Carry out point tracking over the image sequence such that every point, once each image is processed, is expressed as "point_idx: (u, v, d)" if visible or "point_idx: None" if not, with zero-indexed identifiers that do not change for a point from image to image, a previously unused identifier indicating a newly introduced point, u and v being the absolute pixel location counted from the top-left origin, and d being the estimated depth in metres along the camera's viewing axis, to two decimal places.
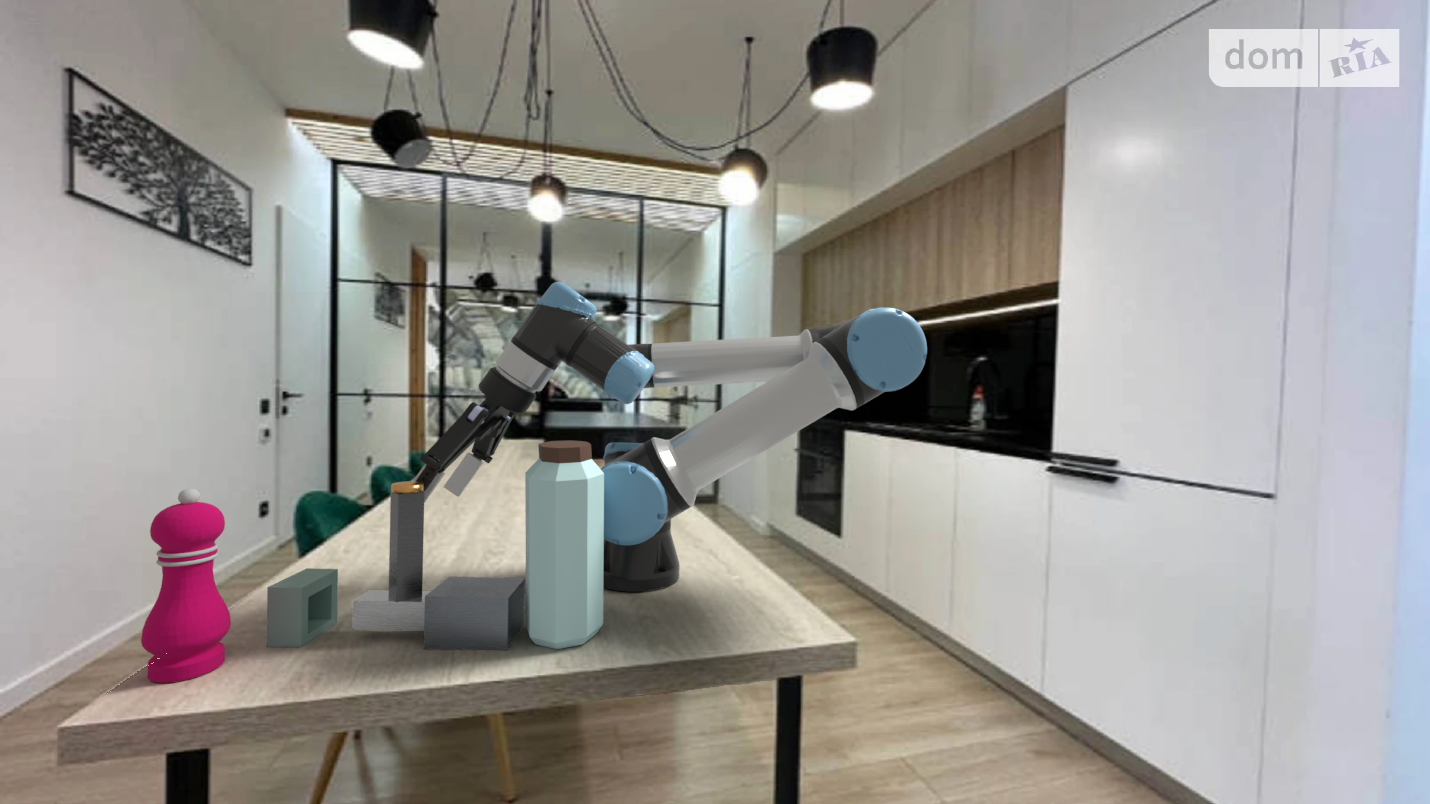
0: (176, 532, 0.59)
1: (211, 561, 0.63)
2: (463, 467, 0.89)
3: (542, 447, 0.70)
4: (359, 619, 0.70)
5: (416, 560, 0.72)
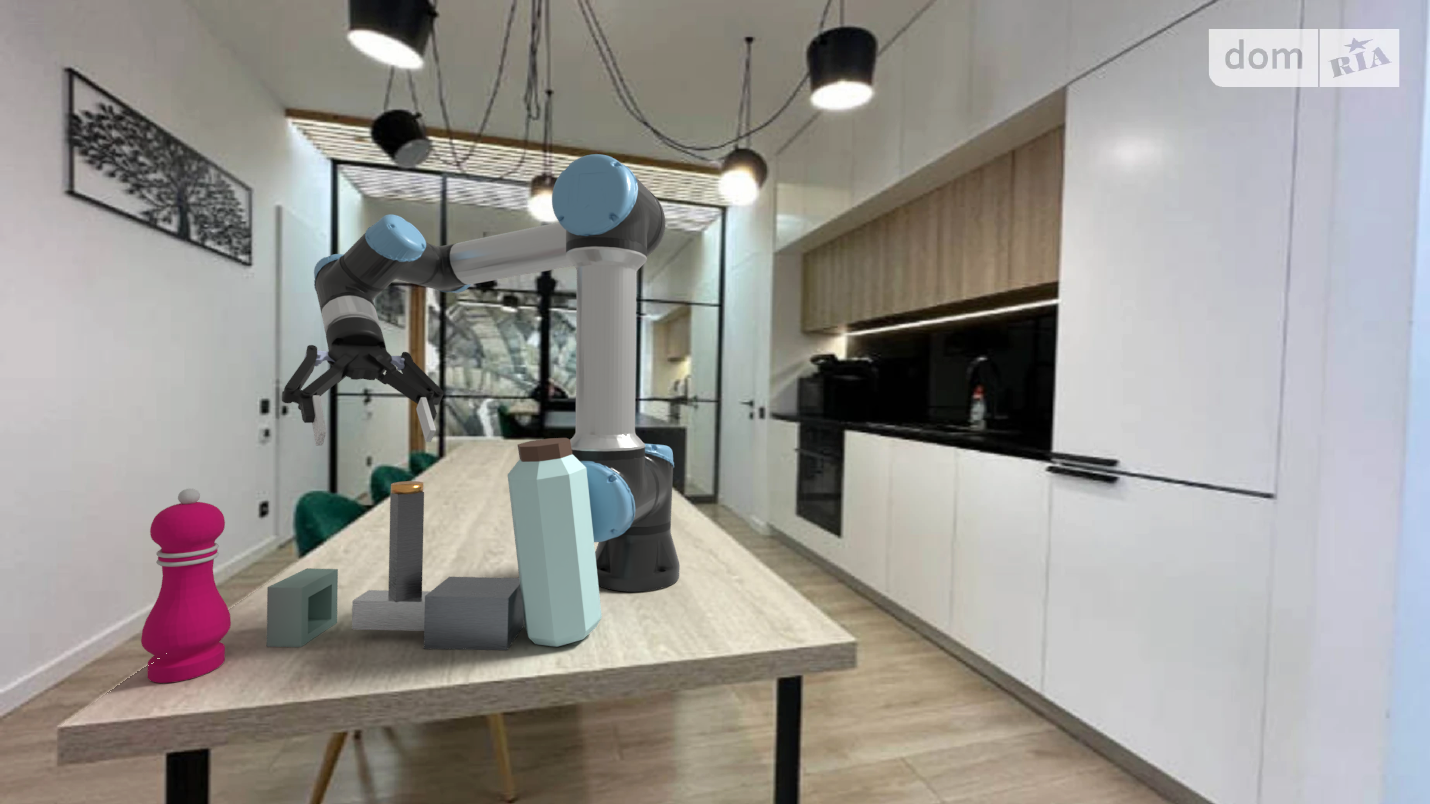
0: (176, 532, 0.59)
1: (211, 561, 0.63)
2: (420, 415, 0.86)
3: (520, 447, 0.70)
4: (359, 619, 0.70)
5: (416, 560, 0.72)
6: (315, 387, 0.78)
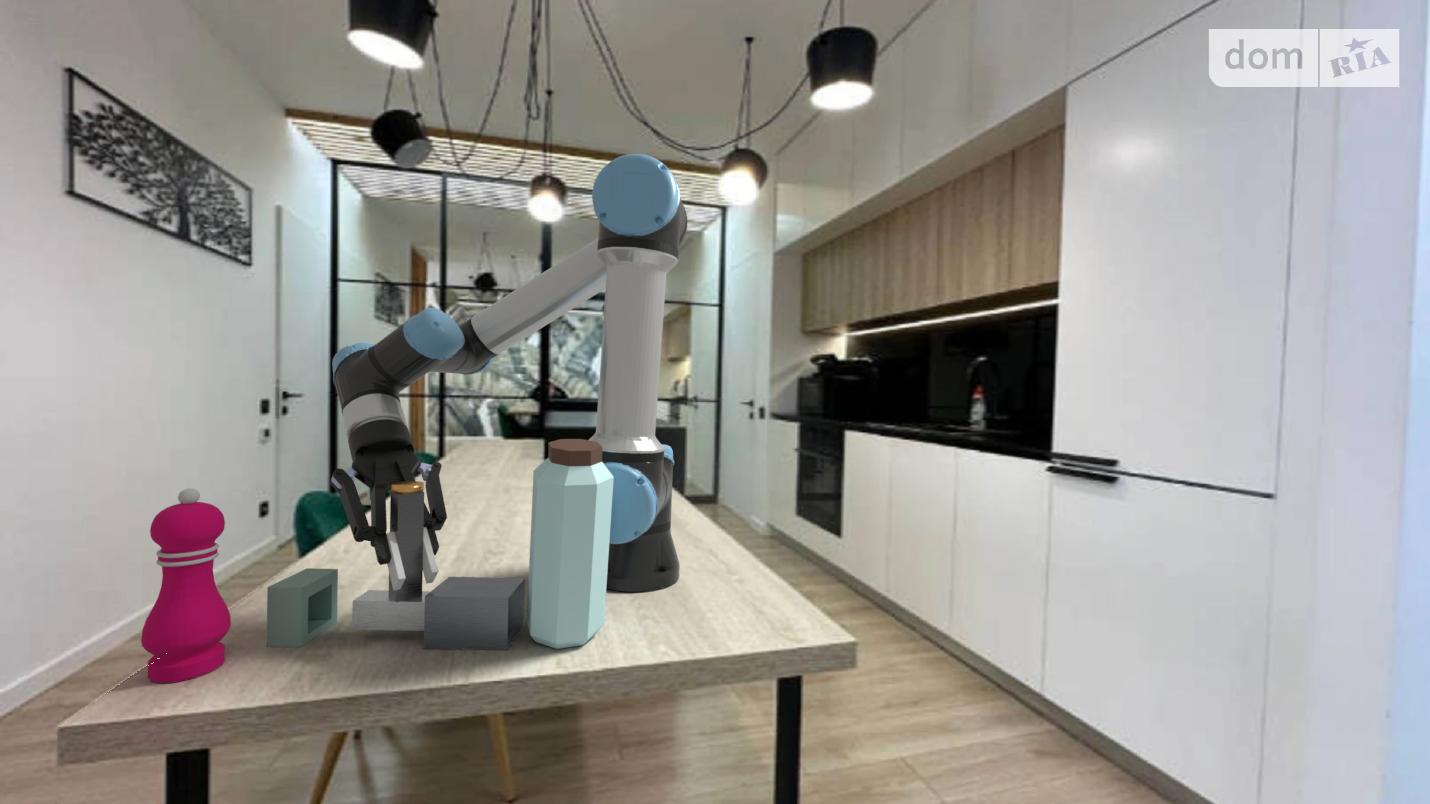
0: (176, 532, 0.59)
1: (211, 561, 0.63)
2: None
3: (552, 448, 0.68)
4: (359, 619, 0.70)
5: (416, 560, 0.72)
6: (382, 520, 0.71)
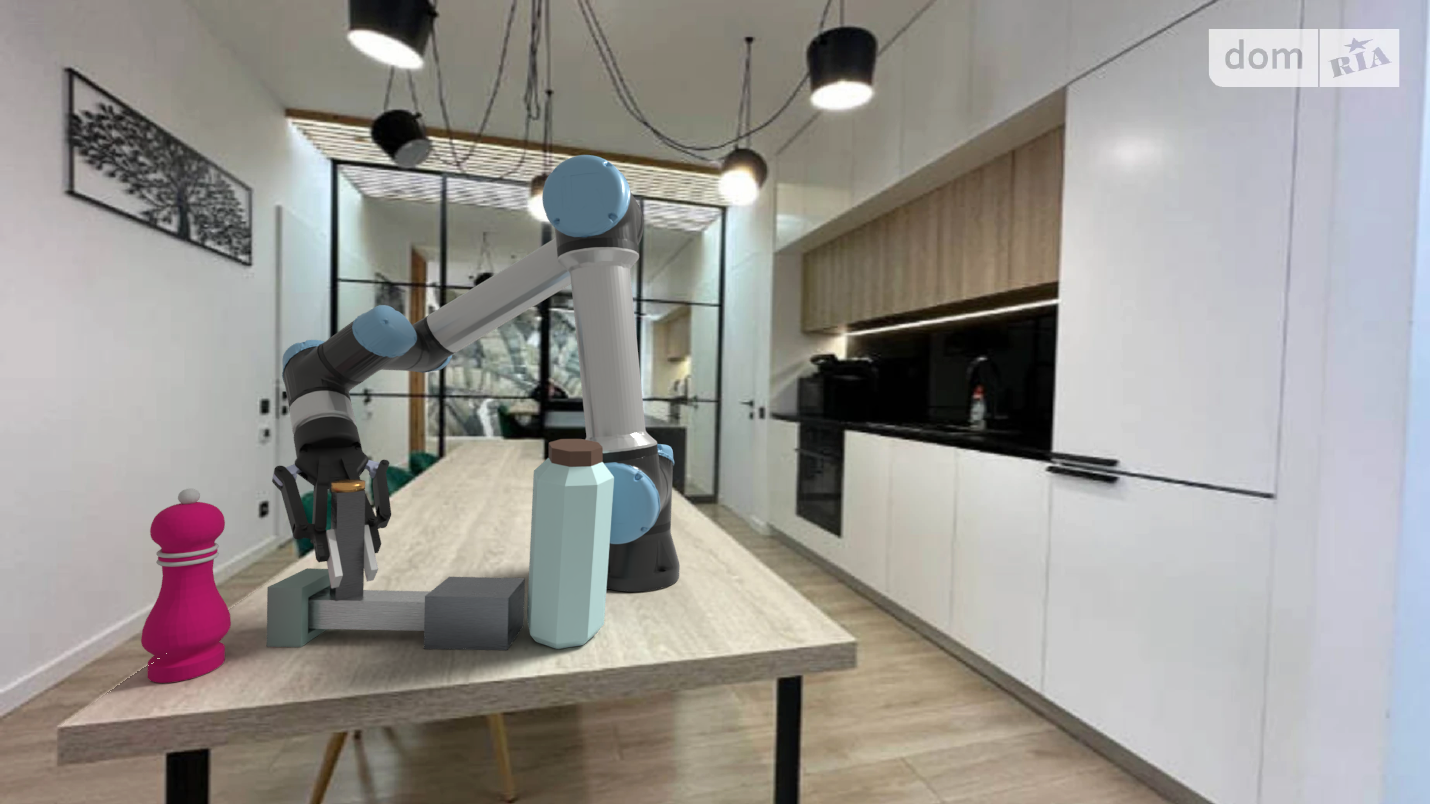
0: (176, 532, 0.59)
1: (211, 561, 0.63)
2: None
3: (552, 448, 0.68)
4: None
5: (357, 559, 0.71)
6: (323, 517, 0.71)
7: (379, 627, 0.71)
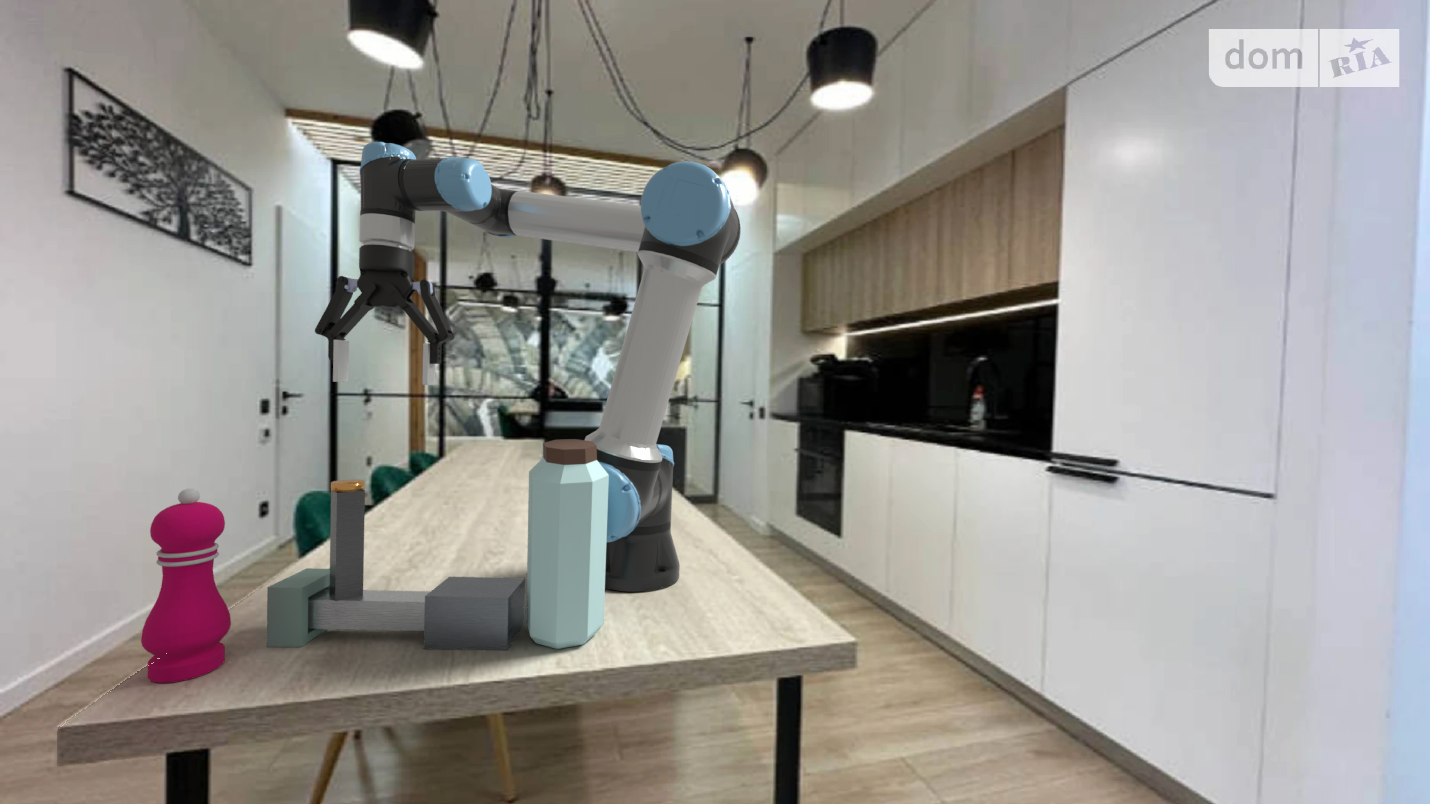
0: (176, 532, 0.59)
1: (211, 561, 0.63)
2: None
3: (547, 447, 0.69)
4: None
5: (357, 559, 0.71)
6: (337, 329, 0.88)
7: (379, 627, 0.71)
